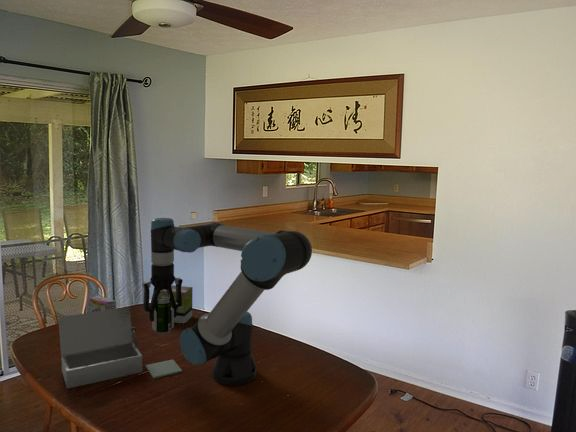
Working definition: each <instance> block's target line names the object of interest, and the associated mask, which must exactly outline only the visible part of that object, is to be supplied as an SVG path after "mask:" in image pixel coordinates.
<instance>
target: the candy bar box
mask: <svg viewBox="0 0 576 432" xmlns="http://www.w3.org/2000/svg"><path fill="white" fill-rule="evenodd" d="M88 302H89V305H88V306H89V313H91V312H97V311H104V310H111V309H117V307H116V306H117V302H116V300H113V299H110V298H107V297H104V296H101V295H96V296H93V297H89V298H88Z"/></svg>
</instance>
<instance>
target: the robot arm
mask: <svg viewBox="0 0 576 432" xmlns="http://www.w3.org/2000/svg"><path fill="white" fill-rule="evenodd" d="M150 247H151V248H150V249H151V250H150V251H151V254H150V255H151V256H150V258H151V260H150V261H151V265H150V266H151V267H150V271H151V272H150V274H151V276H150V280H147V281H143V282H142V284H141V285H142V287H143V310H144V311H145V312H148V314H149V317H148V318H149V321H150V322H151V323H152V324H151V329H152V330H153V331H154V332H156V331H157V312H156V311H155V307H156V303H157V299H158V296H159V293H160V291H161V290H167V293H168V296H169V297H170V300H171V306H172V308H171V329H173V328H174V327H175V323H174V318H175V317H176V310H177V308H178V307H180V306H182V295H181V286H182V285H183V279H182V278H180V277H175V264H174V262H175V251H177V252H178V251H179V252H182V253H194V252H196V251H197V250H198V249H200V248H205V247H217V248H222V249H228V250H234V251H238V252H240V253H241V255H240V257H241V259H240V272H239V274H238V275H237V276H236V278H235V279H234V281H233V282H232V283H231V284H230V285H229V287H228V289H227V290H226V291H225V292H224V293H223V295H222V296H221V298H220V299H219V300H218V302H217V303H216V304H215V305H214V307H213V308H212V309H211V311H210V312H208V313H204V314H203V315H202V316H200V318H199V319H198V320H197V322H196V323H195V324H194V325H193V326H191V327H187V328H186V329H184V330H182V332H181V333H180V337H179V345H180V349H181V352H182V354H183V356H184V358H185V359H186V360H187V362H188V363H190V364H192V365H194V366H199V365H201V364H206V363H207V362H209V361H211V360H213V359H215V361H214V364H213V367H212V379H213V380H214V382H217V383H218V384H221V385H225V386H232V387H233V386H242V385H247V384H248V383H251V382H253V381H254V380H255V379H256V377H257V366H256V364H255V360H254V357H253V354H252V352H253V351H252V350H253V349H252V348H253V347H252V345H253V325H254V324H253V316H252V314H251V313H250V312H249V309H250V308H251V307H252V306H253V304H255V303H256V301H257V300H258V298H260V296H261V295H263V292H265V291H269V290H271V289H273V288H274V287H275V286H276V285H277V284H278V283H279V282H280V280H281V279H282V278H283V277H285V276H286V275H288V274H290V273H293V272H297V271H300V270H301V269H302V270H303V268H305V267H306V266H307V265H308V263H309V262H310V260H311V258H312V255H313V249H312V244H311V241H310V239H309V238H308V236H306V235H305V234H304V233H302V232H300V231H297V230H284V229H283V230H282V229H281V230H277V231H275V232H273V231H266V230H259V229H252V228H251V229H250V228H244V227H236V226H229V225H228V226H227V225H225V224H224V223H223V222H222V223H221V222H212V223H208V224H207V223H206V224H201V225H194V226H193V225H192V226H186V227H184V226H183V227H181V226H175V221H174V219H173V218H169V217H156V218H153V219H152V220H151V223H150ZM173 284H175V286H176V302H175V299H174V296H173V292H172V288H171V285H173ZM151 285H152V286H153V291H152V297H151V300H150V288H151Z"/></svg>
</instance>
